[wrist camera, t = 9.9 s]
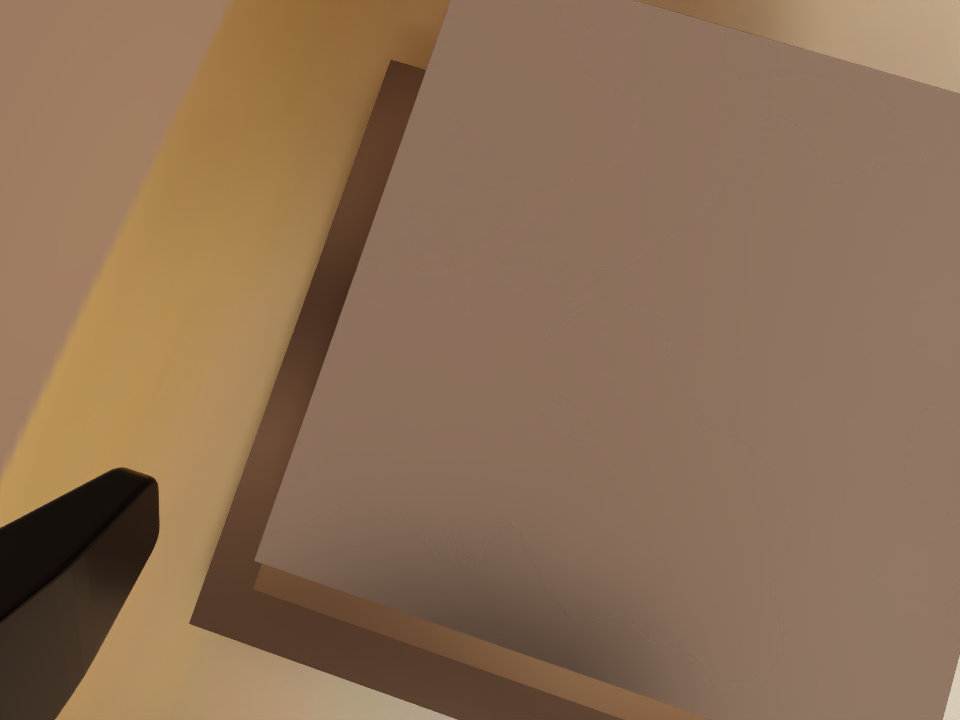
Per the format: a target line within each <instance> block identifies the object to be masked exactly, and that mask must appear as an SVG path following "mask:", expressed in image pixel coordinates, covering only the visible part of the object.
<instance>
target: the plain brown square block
mask: <svg viewBox="0 0 960 720" xmlns="http://www.w3.org/2000/svg"><path fill="white" fill-rule="evenodd" d="M254 561H256V562H259V563H262V564H265V565H268V566H271V567H274V568H277V569H279V570H282V571H285V572H288V573H291V574H294V575H297V576H300V577H302V578H305V579H308V580H311V581H314V582H317V583H320V584H323V585H326V586H328V587H331V588H334V589H337V590H340V591H343V592H346V593H349V594H351V595H354V596H357V597H360V598H363V599H366V600H369V601H372V602H375V603H377V604H380V605H383V606H386V607H389V608H392V609H395V610H398V611H400V612H403V613H406V614H409V615H412V616H415V617H418V618H421V619H424V620H426V621H429V622H432V623H435V624H438V625H441V626H444V627H447V628H449V629H452V630H455V631H458V632H461V633H464V634H467V635H470V636H473V637H475V638H478V639H481V640H484V641H487V642H490V643H493V644H496V645H498V646H501V647H504V648H507V649H510V650H513V651H516V652H519V653H522V654H524V655H527V656H530V657H533V658H536V659H539V660H542V661H545V662H547V663H550V664H553V665H556V666H559V667H562V668H565V669H568V670H571V671H573V672H576V673H579V674H582V675H585V676H588V677H591V678H594V679H596V680H599V681H602V682H605V683H608V684H611V685H614V686H617V687H620V688H622V689H625V690H628V691H631V692H634V693H637V694H640V695H643V696H646V697H648V698H651V699H654V700H657V701H660V702H663V703H666V704H669V705H671V706H674V707H677V708H680V709H683V710H686V711H689V712H692V713H695V714H697V715H700V716H703V717H706V718H709V719H712V720H943V716H944V712H945V709H946V705H947V701H948V697H949V693H950V690H951V686H952V682H953V678H954V674H955V671H956V667H957V663H958V659H959V655H960V94H959V93H955V92H952V91H948V90H945V89H941V88H938V87H934V86H931V85H927V84H924V83H920V82H917V81H913V80H910V79H906V78H903V77H899V76H896V75H893V74H889V73H886V72H882V71H879V70H875V69H872V68H868V67H865V66H861V65H858V64H854V63H851V62H847V61H844V60H840V59H837V58H833V57H830V56H826V55H823V54H819V53H816V52H812V51H809V50H805V49H802V48H798V47H795V46H791V45H788V44H784V43H781V42H777V41H774V40H771V39H767V38H764V37H760V36H757V35H753V34H750V33H746V32H743V31H739V30H736V29H732V28H729V27H725V26H722V25H718V24H715V23H711V22H708V21H704V20H701V19H697V18H694V17H690V16H687V15H683V14H680V13H676V12H673V11H669V10H666V9H662V8H659V7H655V6H652V5H649V4H645V3H642V2H638V1H635V0H451V1H450V4H449V7H448V10H447V12H446V15H445V18H444V21H443V24H442V27H441V30H440V32H439V35H438V38H437V41H436V44H435V47H434V50H433V52H432V55H431V58H430V61H429V64H428V67H427V69H426V72H425V75H424V78H423V81H422V84H421V87H420V89H419V92H418V95H417V98H416V101H415V104H414V107H413V109H412V112H411V115H410V118H409V121H408V124H407V126H406V129H405V132H404V135H403V138H402V141H401V144H400V146H399V149H398V152H397V155H396V158H395V161H394V164H393V166H392V169H391V172H390V175H389V178H388V181H387V183H386V186H385V189H384V192H383V195H382V198H381V201H380V203H379V206H378V209H377V212H376V215H375V218H374V221H373V223H372V226H371V229H370V232H369V235H368V238H367V240H366V243H365V246H364V249H363V252H362V255H361V258H360V260H359V263H358V266H357V269H356V272H355V275H354V278H353V280H352V283H351V286H350V289H349V292H348V295H347V297H346V300H345V303H344V306H343V309H342V312H341V315H340V317H339V320H338V323H337V326H336V329H335V332H334V335H333V337H332V340H331V343H330V346H329V349H328V352H327V354H326V357H325V360H324V363H323V366H322V369H321V372H320V374H319V377H318V380H317V383H316V386H315V389H314V392H313V394H312V397H311V400H310V403H309V406H308V409H307V411H306V414H305V417H304V420H303V423H302V426H301V429H300V431H299V434H298V437H297V440H296V443H295V446H294V449H293V451H292V454H291V457H290V460H289V463H288V466H287V468H286V471H285V474H284V477H283V480H282V483H281V486H280V488H279V491H278V494H277V497H276V500H275V503H274V506H273V508H272V511H271V514H270V517H269V520H268V523H267V525H266V528H265V531H264V534H263V537H262V540H261V543H260V545H259V548H258V551H257V554H256V557H255V560H254Z"/></svg>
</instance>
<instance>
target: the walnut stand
mask: <svg viewBox="0 0 960 720" xmlns="http://www.w3.org/2000/svg"><path fill="white" fill-rule="evenodd" d="M425 72H426V70H423V69H420V68H417V67H413V66H410V65H407V64H403V63H400V62H397V61H393V60H391V61H390V64H389V66H388V69H387V72H386V75H385V78H384V80H383V83H382V86H381V89H380V92H379V94H378V97H377V100H376V103H375V106H374V108H373V111H372V114H371V117H370V120H369V122H368V125H367V128H366V131H365V134H364V136H363V139H362V142H361V145H360V148H359V150H358V153H357V156H356V159H355V162H354V164H353V167H352V170H351V173H350V176H349V178H348V181H347V184H346V187H345V189H344V192H343V195H342V198H341V201H340V203H339V206H338V209H337V212H336V215H335V217H334V220H333V223H332V226H331V229H330V231H329V234H328V237H327V240H326V243H325V245H324V248H323V251H322V254H321V257H320V259H319V262H318V265H317V268H316V271H315V273H314V276H313V279H312V282H311V285H310V287H309V290H308V293H307V296H306V298H305V301H304V304H303V307H302V310H301V312H300V315H299V318H298V321H297V324H296V326H295V329H294V332H293V335H292V338H291V340H290V343H289V346H288V349H287V352H286V354H285V357H284V360H283V363H282V366H281V368H280V371H279V374H278V377H277V380H276V382H275V385H274V388H273V391H272V394H271V396H270V399H269V402H268V405H267V407H266V410H265V413H264V416H263V419H262V421H261V424H260V427H259V430H258V433H257V435H256V438H255V441H254V444H253V447H252V449H251V452H250V455H249V458H248V461H247V463H246V466H245V469H244V472H243V475H242V477H241V480H240V483H239V486H238V489H237V491H236V494H235V497H234V500H233V503H232V505H231V508H230V511H229V514H228V517H227V519H226V522H225V525H224V528H223V530H222V533H221V536H220V539H219V542H218V544H217V547H216V550H215V553H214V556H213V558H212V561H211V564H210V567H209V570H208V572H207V575H206V578H205V581H204V584H203V586H202V589H201V592H200V595H199V598H198V600H197V603H196V606H195V609H194V612H193V614H192V617H191V620H190V623H189V624H191V625H194V626H197V627H200V628H203V629H205V630H208V631H211V632H214V633H217V634H219V635H222V636H225V637H228V638H231V639H233V640H236V641H239V642H242V643H245V644H248V645H250V646H253V647H256V648H259V649H262V650H264V651H267V652H270V653H273V654H276V655H278V656H281V657H284V658H287V659H290V660H292V661H295V662H298V663H301V664H304V665H306V666H309V667H312V668H315V669H318V670H320V671H323V672H326V673H329V674H332V675H334V676H337V677H340V678H343V679H346V680H348V681H351V682H354V683H357V684H360V685H363V686H365V687H368V688H371V689H374V690H377V691H379V692H382V693H385V694H388V695H391V696H393V697H396V698H399V699H402V700H405V701H407V702H410V703H413V704H416V705H419V706H421V707H424V708H427V709H430V710H433V711H435V712H438V713H441V714H444V715H447V716H449V717H452V718H455V719H458V720H712V719H709V718H706V717H703V716H700V715H697V714H695V713H692V712H689V711H686V710H683V709H680V708H677V707H674V706H671V705H669V704H666V703H663V702H660V701H657V700H654V699H651V698H648V697H646V696H643V695H640V694H637V693H634V692H631V691H628V690H625V689H622V688H620V687H617V686H614V685H611V684H608V683H605V682H602V681H599V680H596V679H594V678H591V677H588V676H585V675H582V674H579V673H576V672H573V671H571V670H568V669H565V668H562V667H559V666H556V665H553V664H550V663H547V662H545V661H542V660H539V659H536V658H533V657H530V656H527V655H524V654H522V653H519V652H516V651H513V650H510V649H507V648H504V647H501V646H498V645H496V644H493V643H490V642H487V641H484V640H481V639H478V638H475V637H473V636H470V635H467V634H464V633H461V632H458V631H455V630H452V629H449V628H447V627H444V626H441V625H438V624H435V623H432V622H429V621H426V620H424V619H421V618H418V617H415V616H412V615H409V614H406V613H403V612H400V611H398V610H395V609H392V608H389V607H386V606H383V605H380V604H377V603H375V602H372V601H369V600H366V599H363V598H360V597H357V596H354V595H351V594H349V593H346V592H343V591H340V590H337V589H334V588H331V587H328V586H326V585H323V584H320V583H317V582H314V581H311V580H308V579H305V578H302V577H300V576H297V575H294V574H291V573H288V572H285V571H282V570H279V569H277V568H274V567H271V566H268V565H265V564H262V563H259V562H256V561H254V560H255V557H256V554H257V551H258V548H259V545H260V543H261V540H262V537H263V534H264V531H265V528H266V525H267V523H268V520H269V517H270V514H271V511H272V508H273V506H274V503H275V500H276V497H277V494H278V491H279V488H280V486H281V483H282V480H283V477H284V474H285V471H286V468H287V466H288V463H289V460H290V457H291V454H292V451H293V449H294V446H295V443H296V440H297V437H298V434H299V431H300V429H301V426H302V423H303V420H304V417H305V414H306V411H307V409H308V406H309V403H310V400H311V397H312V394H313V392H314V389H315V386H316V383H317V380H318V377H319V374H320V372H321V369H322V366H323V363H324V360H325V357H326V354H327V352H328V349H329V346H330V343H331V340H332V337H333V335H334V332H335V329H336V326H337V323H338V320H339V317H340V315H341V312H342V309H343V306H344V303H345V300H346V297H347V295H348V292H349V289H350V286H351V283H352V280H353V278H354V275H355V272H356V269H357V266H358V263H359V260H360V258H361V255H362V252H363V249H364V246H365V243H366V240H367V238H368V235H369V232H370V229H371V226H372V223H373V221H374V218H375V215H376V212H377V209H378V206H379V203H380V201H381V198H382V195H383V192H384V189H385V186H386V183H387V181H388V178H389V175H390V172H391V169H392V166H393V164H394V161H395V158H396V155H397V152H398V149H399V146H400V144H401V141H402V138H403V135H404V132H405V129H406V126H407V124H408V121H409V118H410V115H411V112H412V109H413V107H414V104H415V101H416V98H417V95H418V92H419V89H420V87H421V84H422V81H423V78H424V75H425Z"/></svg>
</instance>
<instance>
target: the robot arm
mask: <svg viewBox="0 0 960 720" xmlns="http://www.w3.org/2000/svg"><path fill="white" fill-rule="evenodd" d="M159 526H160V525H159V491H158V483H157V482H156V480H155V479H154V478H153V477H151V476H149V475H146V474H143V473H140V472H137V471H134V470H131V469H128V468H123V467H121V468H115V469H112V470H110V471H108V472H106V473H104V474H102V475H101V476H99V477H97V478H95V479H93V480H91V481H89V482H87V483H85V484H83V485H82V486H80V487H78V488H76V489H74V490H72V491H70V492H68V493H66V494H64V495H62V496H61V497H59V498H57V499H55V500H53V501H51V502H49V503H47V504H45V505H43V506H42V507H40V508H38V509H36V510H34V511H32V512H30V513H28V514H26V515H24V516H22V517H21V518H19V519H17V520H15V521H13V522H11V523H9V524H7V525H5V526H3V527H2V528H0V720H55V719H56V717H57V716H58V715H59V713H60V712H61V710H62V709H63V707H64V706H65V704H66V703H67V701H68V700H69V699H70V697H71V696H72V694H73V693H74V691H75V689H76V688H77V686H78V685H79V683H80V682H81V680H82V679H83V677H84V676H85V674H86V672H87V670H88V669H89V667H90V665H91V663H92V662H93V660H94V658H95V656H96V655H97V653H98V651H99V649H100V647H101V645H102V643H103V642H104V640H105V638H106V636H107V634H108V632H109V631H110V629H111V627H112V625H113V623H114V621H115V619H116V618H117V616H118V614H119V612H120V610H121V608H122V606H123V605H124V603H125V601H126V599H127V597H128V595H129V593H130V592H131V590H132V588H133V586H134V584H135V582H136V580H137V579H138V577H139V575H140V573H141V571H142V569H143V568H144V566H145V564H146V562H147V560H148V558H149V556H150V555H151V553H152V551H153V549H154V546H155V544H156V542H157V538H158V534H159Z"/></svg>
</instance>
